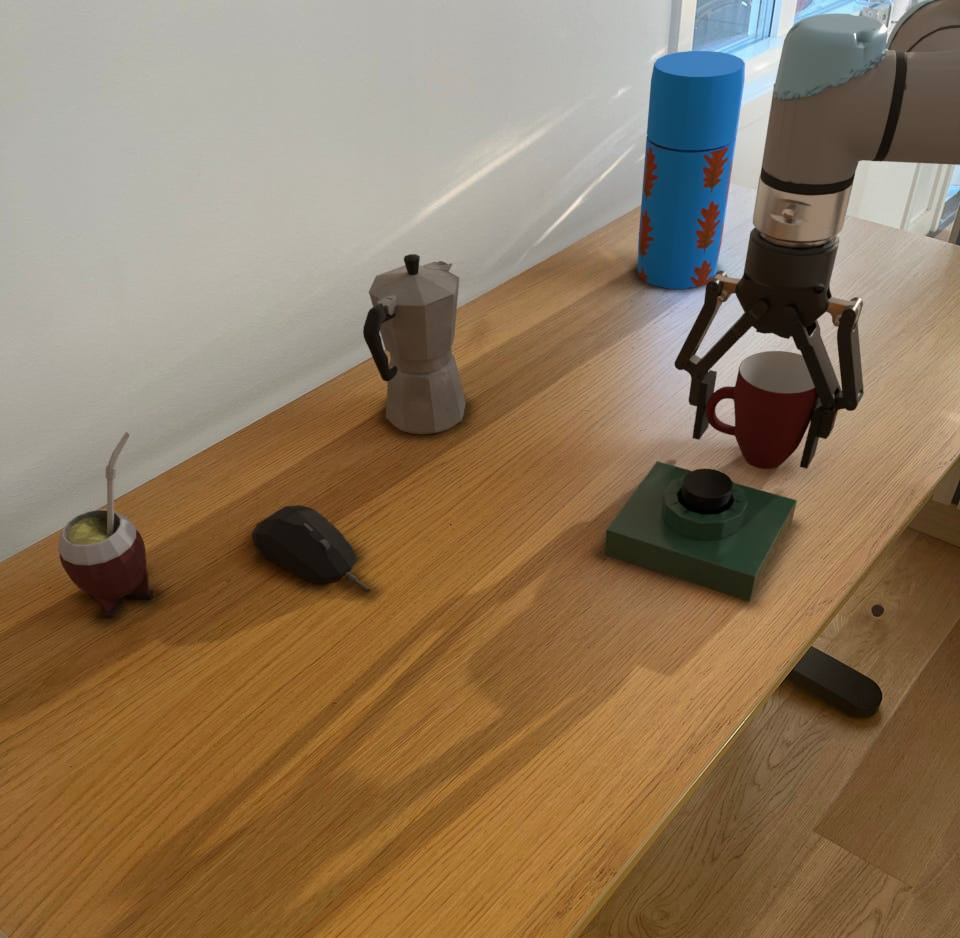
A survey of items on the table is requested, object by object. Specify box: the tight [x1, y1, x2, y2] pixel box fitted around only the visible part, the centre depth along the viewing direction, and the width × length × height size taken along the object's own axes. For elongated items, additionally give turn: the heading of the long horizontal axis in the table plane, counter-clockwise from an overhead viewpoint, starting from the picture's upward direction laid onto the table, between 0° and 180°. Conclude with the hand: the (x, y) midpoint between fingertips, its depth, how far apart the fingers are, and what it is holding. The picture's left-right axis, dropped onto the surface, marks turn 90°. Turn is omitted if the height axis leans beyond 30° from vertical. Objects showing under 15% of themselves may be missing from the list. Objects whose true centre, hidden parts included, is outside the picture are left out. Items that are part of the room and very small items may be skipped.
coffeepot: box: [362, 253, 467, 435], centre depth 99 cm, size 15×9×18 cm, turn 150°
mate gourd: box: [57, 431, 155, 619], centre depth 82 cm, size 8×8×15 cm
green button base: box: [604, 460, 798, 602], centre depth 87 cm, size 14×12×5 cm
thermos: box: [637, 50, 746, 290], centre depth 119 cm, size 11×11×25 cm
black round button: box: [680, 468, 734, 515], centre depth 85 cm, size 4×4×2 cm
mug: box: [706, 350, 820, 470], centre depth 94 cm, size 10×8×10 cm
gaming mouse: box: [251, 504, 371, 593], centre depth 88 cm, size 6×15×4 cm, turn 48°
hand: (752, 446), depth 97 cm, fingers open, 11 cm apart
